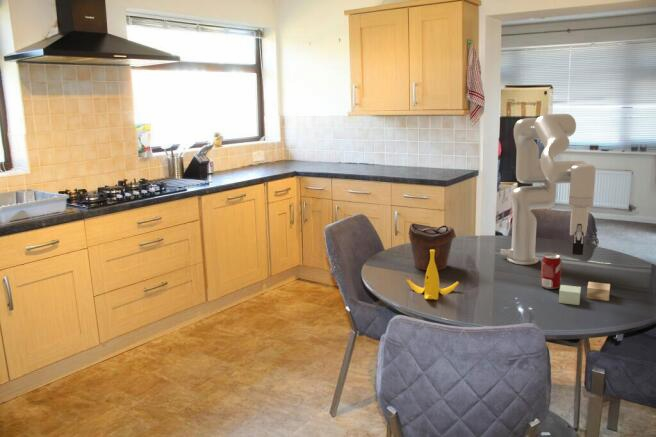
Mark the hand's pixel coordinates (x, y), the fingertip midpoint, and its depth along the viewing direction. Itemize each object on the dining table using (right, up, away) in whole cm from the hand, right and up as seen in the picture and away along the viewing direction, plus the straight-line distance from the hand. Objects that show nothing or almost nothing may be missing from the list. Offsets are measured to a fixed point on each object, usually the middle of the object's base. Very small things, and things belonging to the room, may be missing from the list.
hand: (577, 250), depth 200 cm
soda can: (-3, -14, +16) cm, 22 cm away
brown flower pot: (-42, -9, +44) cm, 62 cm away
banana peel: (-45, -16, +13) cm, 50 cm away
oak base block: (+10, -16, +6) cm, 20 cm away
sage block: (-2, -18, +3) cm, 18 cm away
